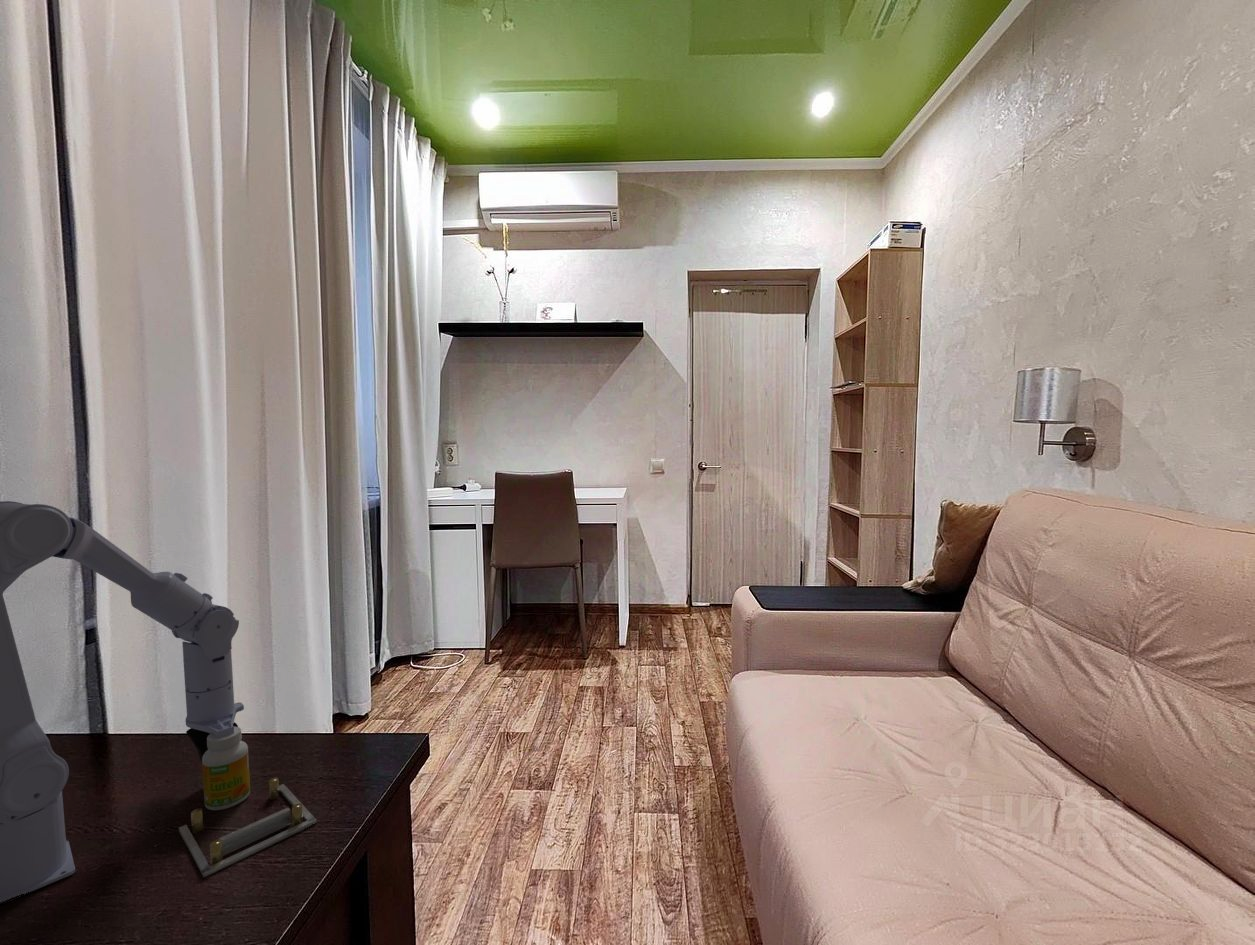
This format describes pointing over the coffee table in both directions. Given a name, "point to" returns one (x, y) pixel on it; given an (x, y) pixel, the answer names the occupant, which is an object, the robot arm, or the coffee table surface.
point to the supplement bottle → (225, 771)
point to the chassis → (248, 832)
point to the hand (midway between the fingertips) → (215, 773)
